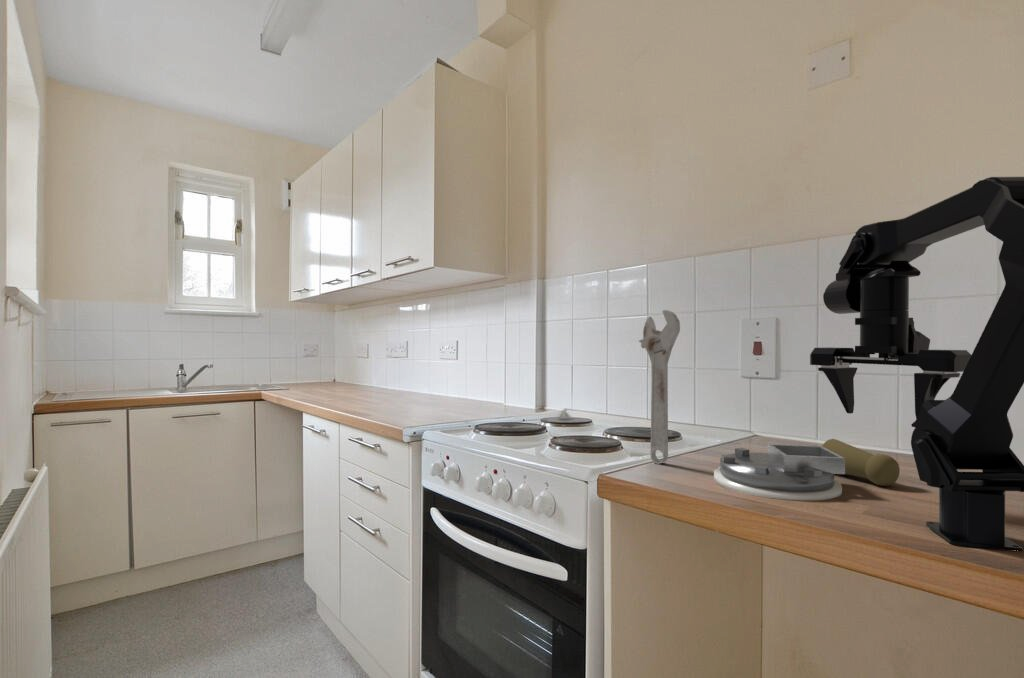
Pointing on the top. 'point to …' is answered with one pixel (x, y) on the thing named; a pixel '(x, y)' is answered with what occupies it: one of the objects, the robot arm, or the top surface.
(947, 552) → the top surface
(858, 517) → the top surface
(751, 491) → the base plate
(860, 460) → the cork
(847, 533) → the top surface
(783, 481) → the grey tabbed disc
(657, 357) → the wrench
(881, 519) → the top surface
